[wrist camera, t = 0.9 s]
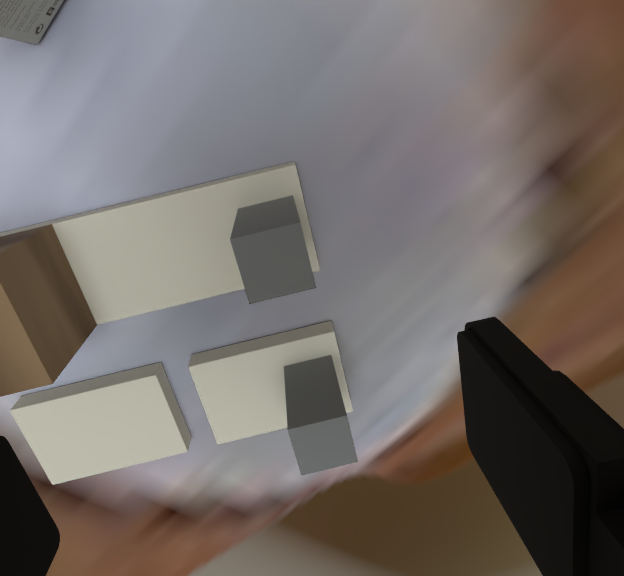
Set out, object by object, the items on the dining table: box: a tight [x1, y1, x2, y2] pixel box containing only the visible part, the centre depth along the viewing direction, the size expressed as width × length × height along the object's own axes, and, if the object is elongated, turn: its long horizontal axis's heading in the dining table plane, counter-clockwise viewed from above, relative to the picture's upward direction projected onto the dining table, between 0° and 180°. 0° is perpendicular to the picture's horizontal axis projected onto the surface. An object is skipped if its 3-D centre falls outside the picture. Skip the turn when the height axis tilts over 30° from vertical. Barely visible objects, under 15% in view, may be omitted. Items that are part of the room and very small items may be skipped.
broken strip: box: [10, 321, 358, 485], centre depth 27 cm, size 20×6×8 cm, turn 103°
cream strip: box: [0, 161, 320, 325], centre depth 23 cm, size 20×6×8 cm, turn 103°
